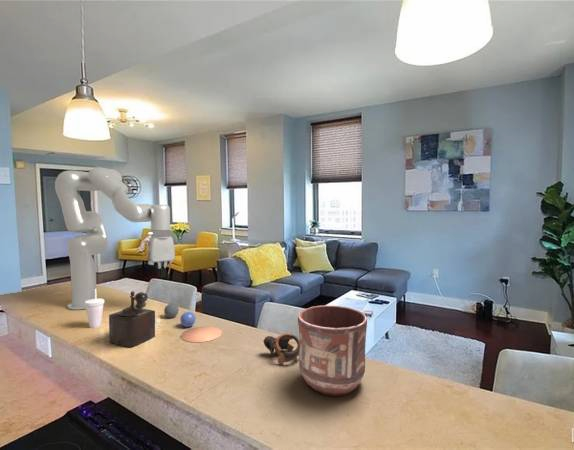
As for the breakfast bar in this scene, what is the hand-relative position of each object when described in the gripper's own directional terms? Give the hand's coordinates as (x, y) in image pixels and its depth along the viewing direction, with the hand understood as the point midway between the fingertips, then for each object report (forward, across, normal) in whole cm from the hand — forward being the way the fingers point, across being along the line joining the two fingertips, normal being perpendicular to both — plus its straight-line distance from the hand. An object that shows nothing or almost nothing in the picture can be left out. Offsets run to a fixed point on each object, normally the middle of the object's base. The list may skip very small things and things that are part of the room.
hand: (161, 277), depth 138 cm
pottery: (+15, +8, -85) cm, 86 cm away
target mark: (+15, 0, -33) cm, 37 cm away
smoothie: (+15, -25, 0) cm, 29 cm away
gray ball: (+12, 0, -9) cm, 15 cm away
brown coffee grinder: (+15, -19, -24) cm, 34 cm away
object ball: (+12, 0, -23) cm, 26 cm away
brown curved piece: (+16, +9, -65) cm, 68 cm away
